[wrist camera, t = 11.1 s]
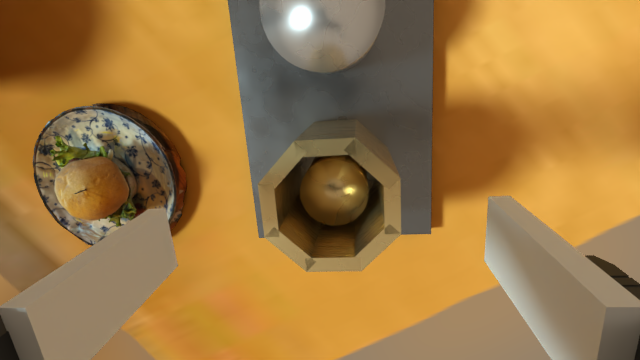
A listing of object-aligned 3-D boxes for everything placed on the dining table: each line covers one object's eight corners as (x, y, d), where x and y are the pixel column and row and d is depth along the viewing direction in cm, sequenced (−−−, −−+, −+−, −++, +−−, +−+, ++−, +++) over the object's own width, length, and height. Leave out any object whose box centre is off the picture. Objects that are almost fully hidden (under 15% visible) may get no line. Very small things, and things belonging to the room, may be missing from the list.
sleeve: (285, 123, 25) (252, 143, 17) (386, 117, 24) (399, 135, 16) (294, 216, 26) (268, 272, 19) (388, 213, 26) (401, 270, 18)
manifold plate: (226, -50, 23) (182, -92, 17) (431, -76, 21) (457, -132, 16) (262, 232, 28) (238, 271, 23) (428, 228, 27) (447, 269, 21)
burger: (32, 108, 28) (-80, 119, 21) (173, 97, 26) (103, 103, 19) (73, 246, 31) (-12, 296, 24) (200, 242, 29) (149, 295, 22)
